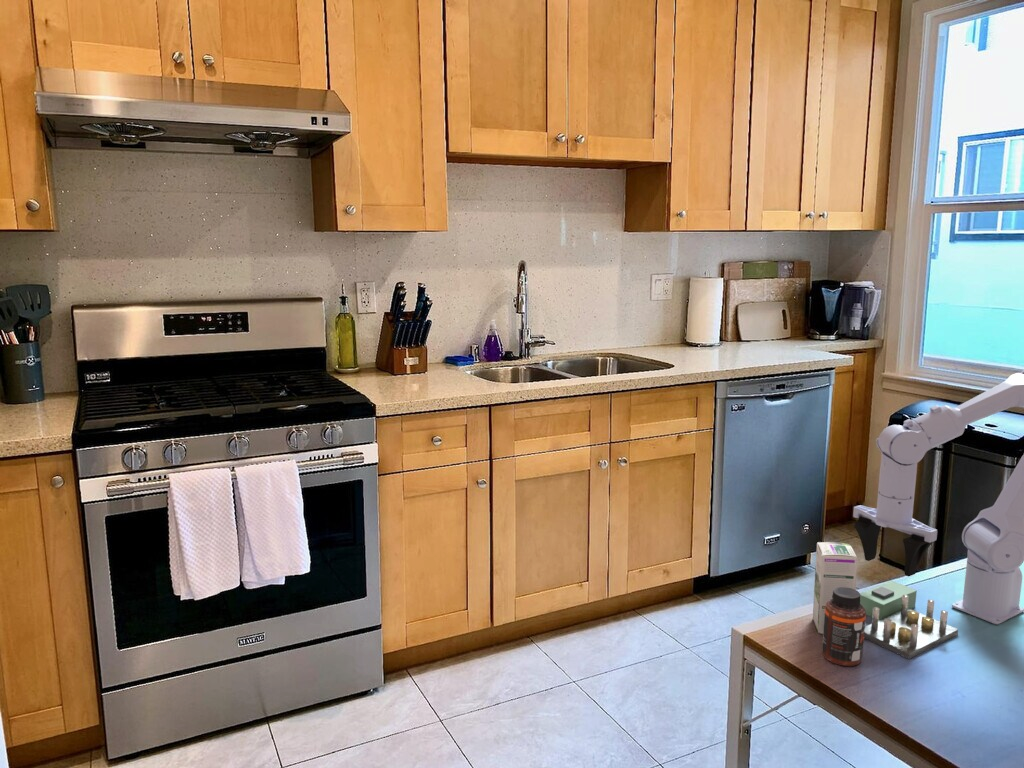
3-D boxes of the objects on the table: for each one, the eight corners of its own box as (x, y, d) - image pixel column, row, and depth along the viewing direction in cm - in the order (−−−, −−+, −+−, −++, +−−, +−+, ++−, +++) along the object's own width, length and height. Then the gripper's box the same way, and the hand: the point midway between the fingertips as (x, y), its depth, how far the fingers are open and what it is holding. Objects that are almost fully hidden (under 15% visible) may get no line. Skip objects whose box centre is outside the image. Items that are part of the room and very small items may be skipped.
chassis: (906, 613, 138) (909, 589, 137) (957, 634, 130) (960, 610, 129) (858, 634, 131) (859, 610, 130) (908, 659, 123) (911, 633, 122)
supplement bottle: (867, 668, 120) (873, 601, 118) (828, 667, 121) (833, 600, 119) (854, 648, 126) (859, 584, 124) (817, 647, 127) (821, 583, 125)
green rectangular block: (890, 598, 144) (892, 577, 143) (915, 608, 140) (917, 587, 139) (857, 612, 139) (858, 591, 138) (881, 623, 135) (883, 601, 134)
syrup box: (853, 637, 130) (860, 556, 127) (816, 634, 131) (822, 553, 128) (846, 621, 135) (852, 542, 132) (810, 618, 136) (815, 540, 134)
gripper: (845, 486, 139) (839, 557, 142) (922, 510, 127) (915, 587, 130) (869, 480, 143) (863, 549, 146) (947, 502, 131) (939, 577, 133)
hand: (889, 566), depth 138 cm, fingers open, 7 cm apart
